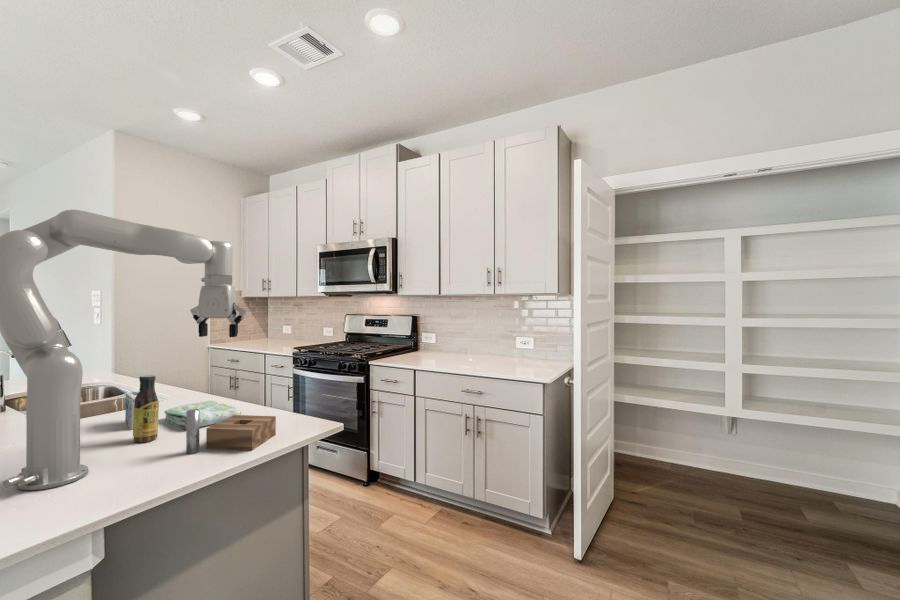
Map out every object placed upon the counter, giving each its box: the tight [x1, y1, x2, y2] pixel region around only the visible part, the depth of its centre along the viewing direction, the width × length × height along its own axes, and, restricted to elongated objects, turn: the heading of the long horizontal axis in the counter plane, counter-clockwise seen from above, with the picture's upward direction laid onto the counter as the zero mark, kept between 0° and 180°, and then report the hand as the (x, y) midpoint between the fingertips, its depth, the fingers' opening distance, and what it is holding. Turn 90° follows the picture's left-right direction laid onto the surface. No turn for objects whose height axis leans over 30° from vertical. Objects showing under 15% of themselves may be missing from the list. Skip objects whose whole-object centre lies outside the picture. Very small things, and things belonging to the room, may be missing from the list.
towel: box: [164, 400, 243, 430], centre depth 151 cm, size 18×21×5 cm
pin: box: [185, 409, 200, 455], centre depth 120 cm, size 3×3×12 cm
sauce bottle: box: [132, 374, 160, 444], centre depth 130 cm, size 6×6×20 cm
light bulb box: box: [124, 390, 140, 431], centre depth 145 cm, size 11×7×11 cm, turn 47°
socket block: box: [205, 414, 277, 452], centre depth 129 cm, size 14×14×6 cm
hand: (218, 336), depth 130 cm, fingers open, 9 cm apart
